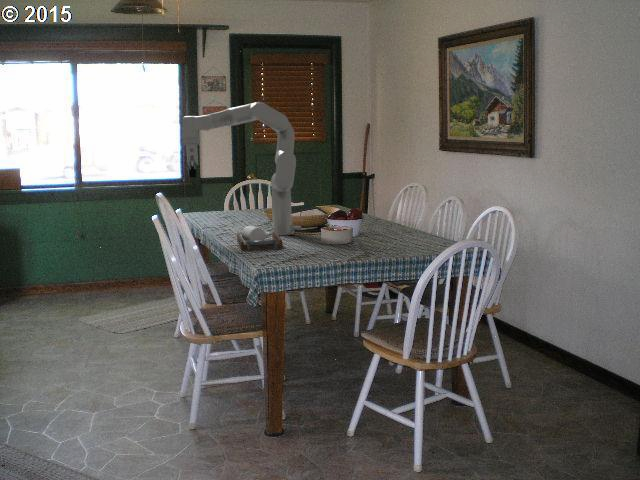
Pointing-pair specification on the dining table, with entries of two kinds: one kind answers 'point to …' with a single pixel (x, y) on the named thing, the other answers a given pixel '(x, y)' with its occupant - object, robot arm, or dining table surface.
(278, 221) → the robot arm
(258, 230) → the mug
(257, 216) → the dining table surface
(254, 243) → the frame
